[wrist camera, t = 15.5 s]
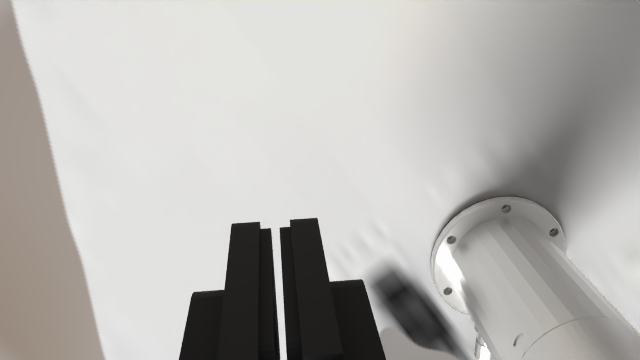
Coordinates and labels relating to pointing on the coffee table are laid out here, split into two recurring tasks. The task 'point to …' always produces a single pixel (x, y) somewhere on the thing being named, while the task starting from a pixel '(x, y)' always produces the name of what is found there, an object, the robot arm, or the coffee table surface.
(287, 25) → the coffee table surface
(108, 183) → the coffee table surface
